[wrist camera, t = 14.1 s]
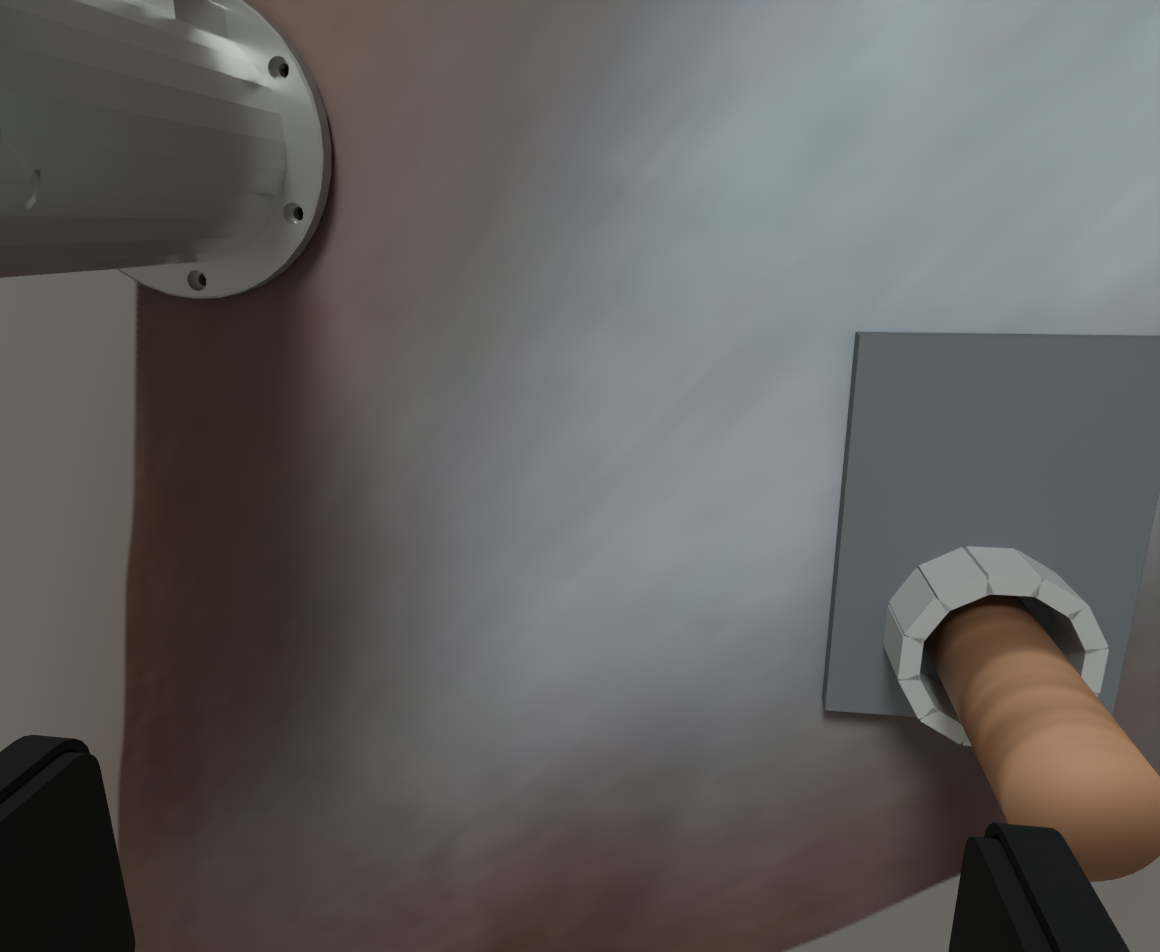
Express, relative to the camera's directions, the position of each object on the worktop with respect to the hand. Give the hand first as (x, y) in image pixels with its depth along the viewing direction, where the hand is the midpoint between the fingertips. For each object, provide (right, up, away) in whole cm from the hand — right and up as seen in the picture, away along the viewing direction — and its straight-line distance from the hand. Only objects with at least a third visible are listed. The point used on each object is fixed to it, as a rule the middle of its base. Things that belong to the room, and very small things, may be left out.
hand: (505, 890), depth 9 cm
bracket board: (+18, +2, +27) cm, 32 cm away
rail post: (+18, -2, +27) cm, 32 cm away
